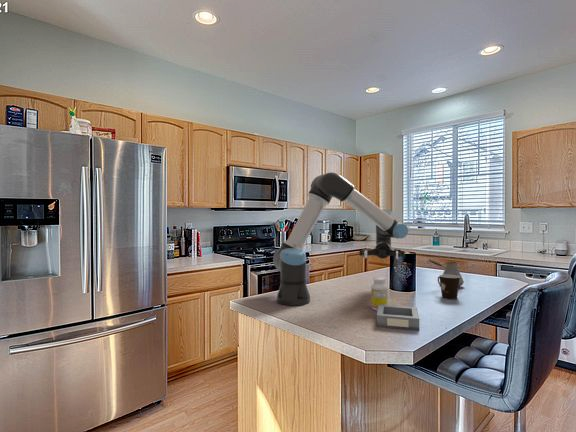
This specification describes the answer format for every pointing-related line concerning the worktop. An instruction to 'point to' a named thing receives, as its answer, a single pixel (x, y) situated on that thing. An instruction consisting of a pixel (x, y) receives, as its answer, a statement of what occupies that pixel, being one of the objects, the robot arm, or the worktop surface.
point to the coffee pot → (450, 270)
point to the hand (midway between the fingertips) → (380, 255)
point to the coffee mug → (449, 286)
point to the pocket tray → (398, 317)
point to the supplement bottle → (379, 293)
